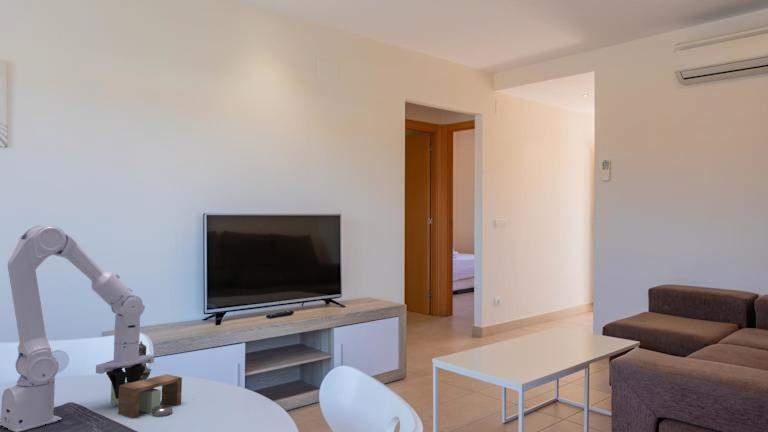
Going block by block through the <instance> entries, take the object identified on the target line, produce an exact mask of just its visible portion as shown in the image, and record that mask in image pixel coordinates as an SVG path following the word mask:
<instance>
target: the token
mask: <svg viewBox="0 0 768 432" xmlns="http://www.w3.org/2000/svg"><path fill="white" fill-rule="evenodd" d="M172 414H173V406H172V405H168V404H163V405H161V404H160V406H156V407H154V408H152V414H151V416H152V417H153V418H163V417H167V416H168V417H169V416H171V415H172Z"/></svg>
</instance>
